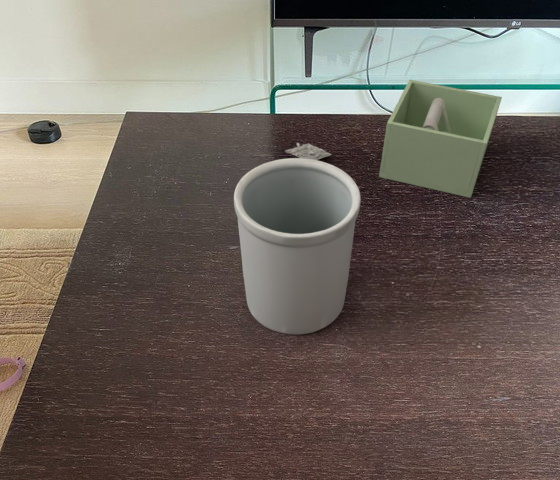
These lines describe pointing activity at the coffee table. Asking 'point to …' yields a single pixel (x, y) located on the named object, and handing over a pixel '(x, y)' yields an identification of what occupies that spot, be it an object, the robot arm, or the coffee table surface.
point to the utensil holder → (296, 242)
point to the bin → (438, 138)
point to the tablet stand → (437, 116)
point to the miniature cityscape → (312, 153)
